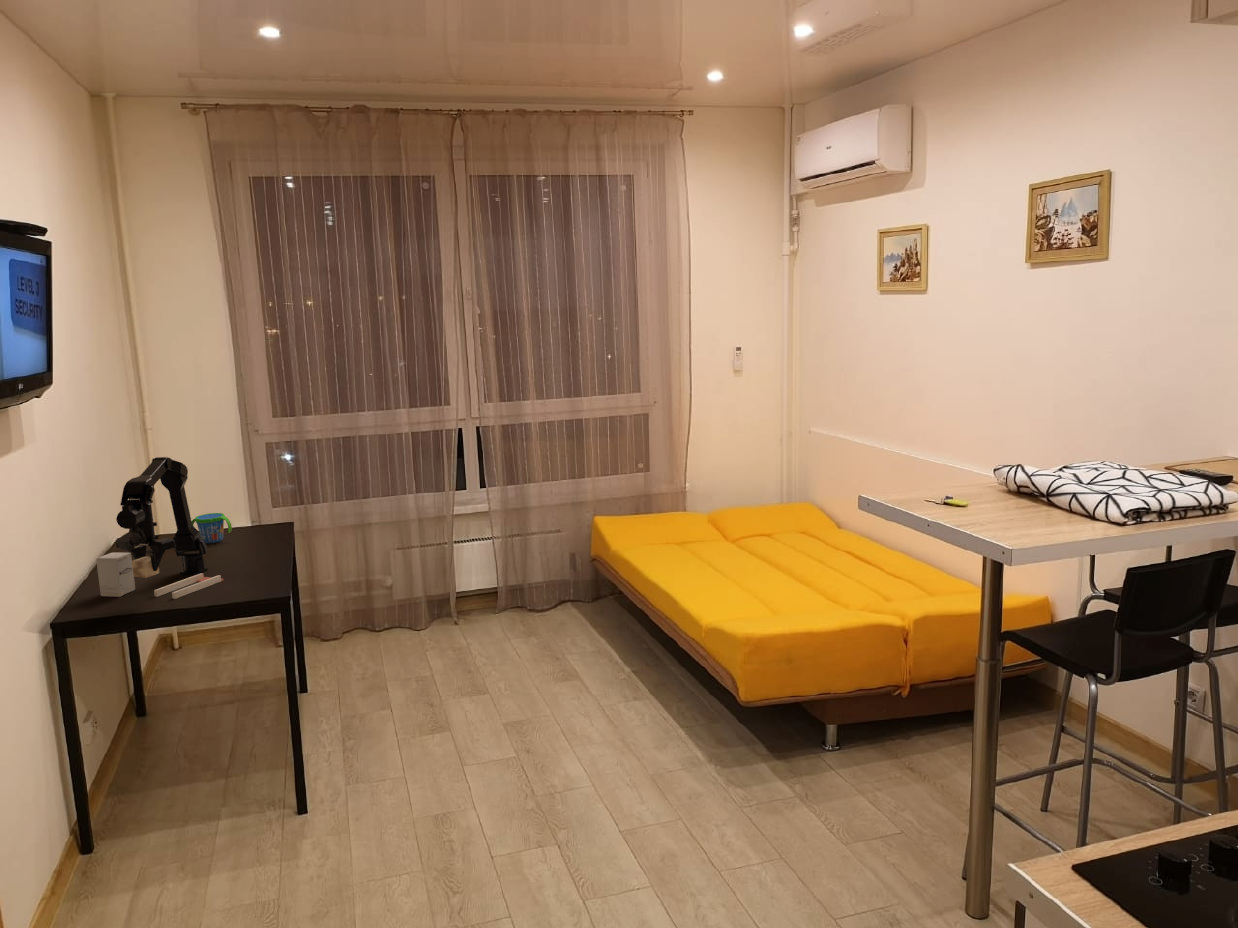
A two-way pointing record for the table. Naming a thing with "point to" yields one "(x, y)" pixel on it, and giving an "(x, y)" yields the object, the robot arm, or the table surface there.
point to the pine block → (143, 567)
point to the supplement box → (115, 574)
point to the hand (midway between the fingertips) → (148, 570)
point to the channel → (197, 578)
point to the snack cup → (211, 526)
